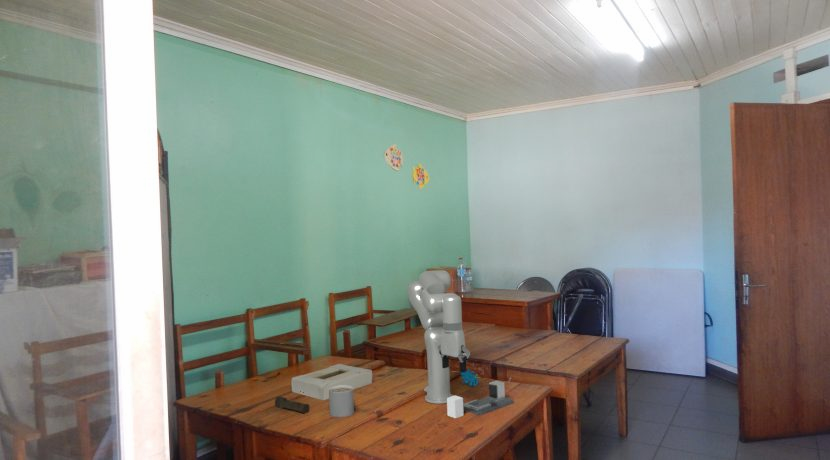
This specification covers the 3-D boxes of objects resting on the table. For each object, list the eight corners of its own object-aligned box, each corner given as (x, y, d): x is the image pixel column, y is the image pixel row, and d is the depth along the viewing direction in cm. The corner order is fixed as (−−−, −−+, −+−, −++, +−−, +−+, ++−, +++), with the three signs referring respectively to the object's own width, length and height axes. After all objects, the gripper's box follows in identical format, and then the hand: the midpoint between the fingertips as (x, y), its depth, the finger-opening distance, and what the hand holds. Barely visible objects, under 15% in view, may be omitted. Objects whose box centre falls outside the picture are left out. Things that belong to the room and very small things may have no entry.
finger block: (447, 415, 207) (446, 397, 207) (456, 412, 211) (456, 394, 211) (455, 418, 204) (454, 400, 204) (464, 414, 207) (464, 397, 207)
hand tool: (310, 412, 217) (309, 401, 217) (302, 415, 214) (302, 403, 214) (280, 404, 228) (280, 394, 228) (273, 407, 225) (272, 396, 225)
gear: (468, 385, 240) (458, 367, 246) (461, 393, 243) (451, 375, 249) (484, 383, 248) (473, 366, 254) (477, 391, 250) (466, 373, 256)
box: (324, 402, 231) (373, 383, 256) (323, 384, 231) (372, 367, 256) (290, 394, 245) (340, 377, 270) (290, 377, 245) (339, 362, 270)
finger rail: (461, 409, 213) (460, 388, 213) (495, 397, 227) (494, 378, 227) (479, 415, 206) (478, 394, 206) (513, 402, 219) (512, 382, 219)
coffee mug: (343, 418, 207) (342, 393, 207) (324, 414, 213) (323, 390, 213) (364, 408, 218) (363, 384, 219) (345, 405, 224) (345, 381, 224)
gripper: (431, 325, 211) (432, 367, 211) (461, 330, 198) (463, 375, 198) (444, 323, 216) (445, 364, 216) (475, 327, 203) (476, 371, 203)
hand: (454, 369), depth 207 cm, fingers open, 9 cm apart
